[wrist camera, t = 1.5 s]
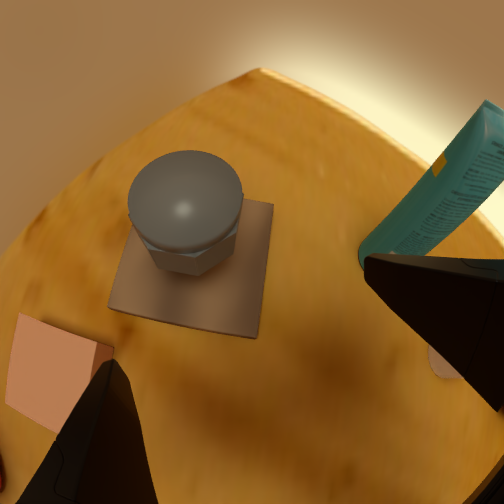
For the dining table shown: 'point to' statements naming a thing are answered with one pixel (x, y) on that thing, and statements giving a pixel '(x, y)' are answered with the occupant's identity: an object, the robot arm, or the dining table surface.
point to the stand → (50, 371)
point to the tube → (445, 189)
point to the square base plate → (200, 282)
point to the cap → (186, 210)
